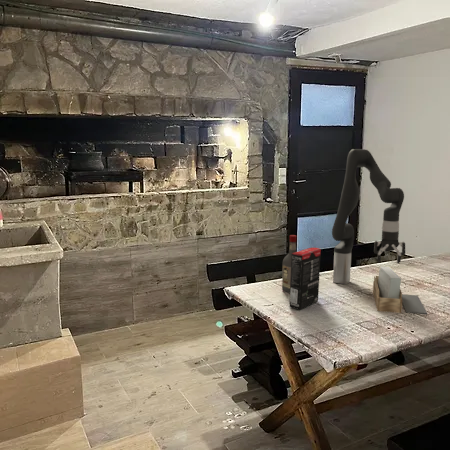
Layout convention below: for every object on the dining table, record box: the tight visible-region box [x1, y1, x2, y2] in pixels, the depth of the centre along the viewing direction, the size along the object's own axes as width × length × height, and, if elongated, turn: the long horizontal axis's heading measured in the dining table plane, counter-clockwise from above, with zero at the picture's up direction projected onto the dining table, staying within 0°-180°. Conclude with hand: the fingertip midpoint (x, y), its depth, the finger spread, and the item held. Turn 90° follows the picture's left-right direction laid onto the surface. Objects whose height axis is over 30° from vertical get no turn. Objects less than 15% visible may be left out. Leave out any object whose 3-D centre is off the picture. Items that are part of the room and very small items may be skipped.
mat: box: [402, 293, 428, 315], centre depth 220 cm, size 9×25×1 cm, turn 167°
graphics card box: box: [288, 247, 322, 311], centre depth 218 cm, size 17×7×27 cm, turn 139°
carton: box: [372, 275, 403, 314], centre depth 222 cm, size 11×27×10 cm, turn 167°
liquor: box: [281, 234, 297, 294], centre depth 239 cm, size 9×9×30 cm
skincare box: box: [378, 265, 402, 299], centre depth 222 cm, size 21×5×16 cm, turn 175°
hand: (388, 262), depth 220 cm, fingers open, 8 cm apart
